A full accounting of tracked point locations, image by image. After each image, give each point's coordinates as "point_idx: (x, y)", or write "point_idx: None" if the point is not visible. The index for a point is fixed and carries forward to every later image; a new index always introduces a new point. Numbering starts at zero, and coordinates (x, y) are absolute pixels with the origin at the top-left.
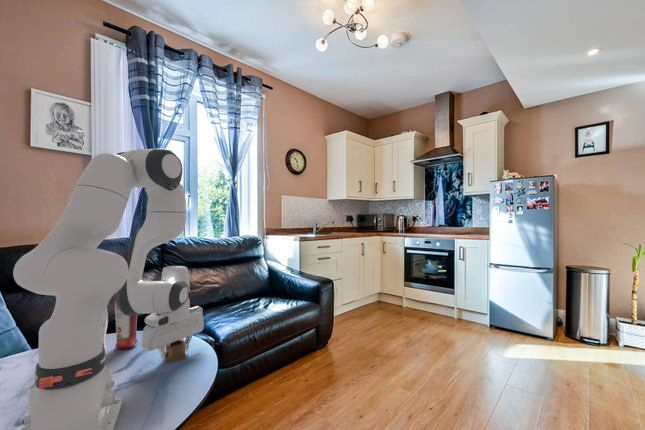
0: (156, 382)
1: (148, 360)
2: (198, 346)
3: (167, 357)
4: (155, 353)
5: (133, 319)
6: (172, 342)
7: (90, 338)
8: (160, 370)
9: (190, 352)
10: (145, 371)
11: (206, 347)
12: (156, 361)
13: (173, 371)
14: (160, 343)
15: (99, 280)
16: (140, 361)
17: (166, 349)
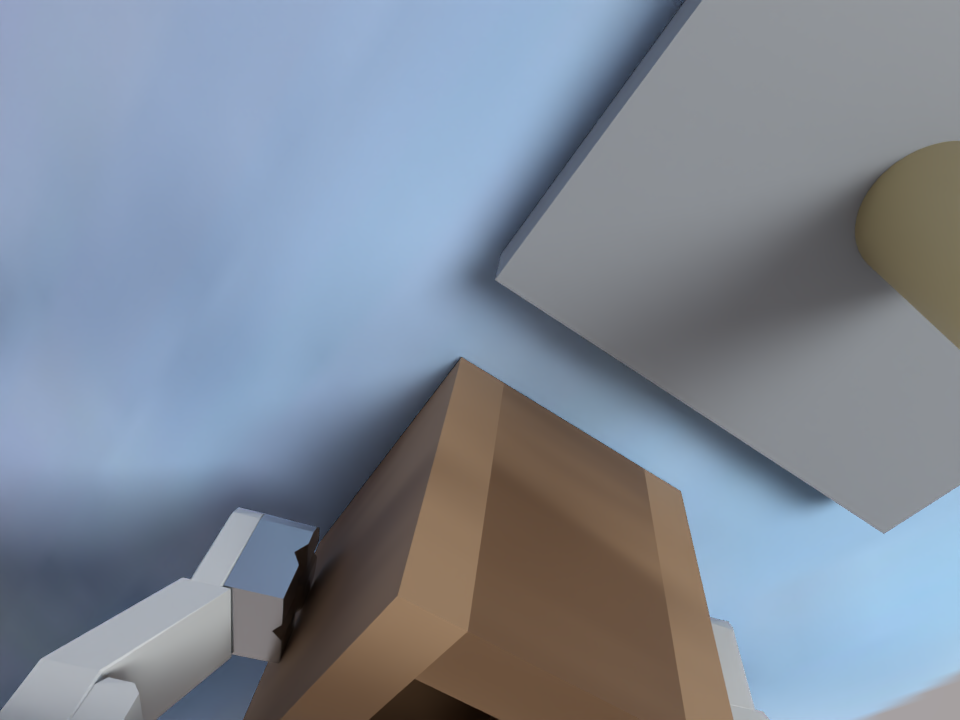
0: (32, 651)
1: (201, 168)
2: (950, 592)
3: (358, 509)
4: (481, 14)
5: None
6: (484, 690)
7: None
8: (163, 556)
9: (706, 597)
10: (21, 419)
11: (911, 691)
12: (265, 342)
13: (239, 669)
14: None
15: None
16: (76, 30)
17: (382, 526)
